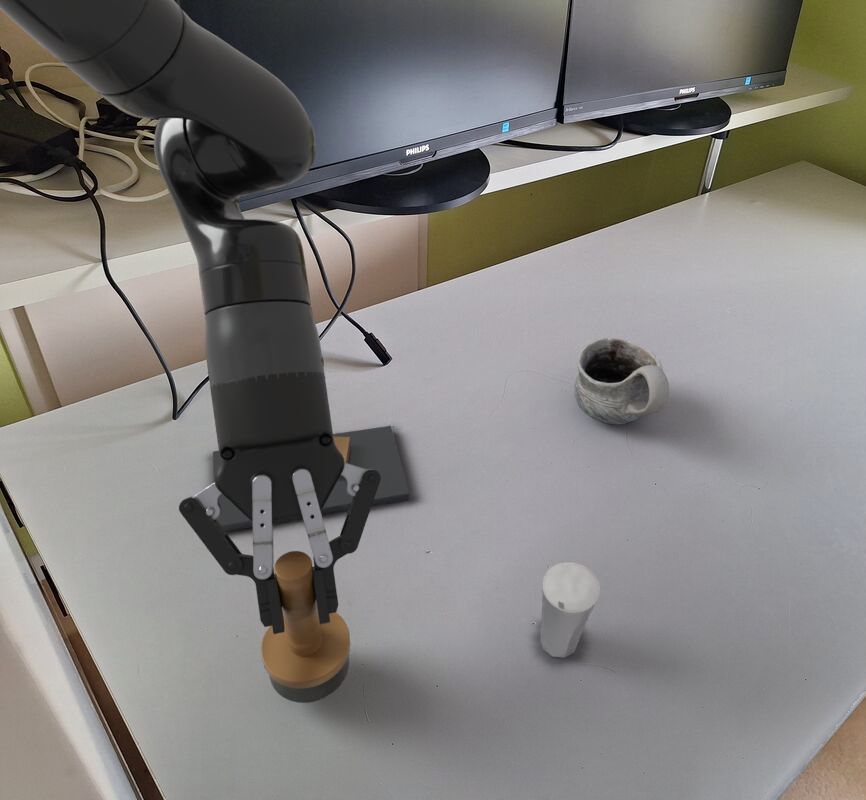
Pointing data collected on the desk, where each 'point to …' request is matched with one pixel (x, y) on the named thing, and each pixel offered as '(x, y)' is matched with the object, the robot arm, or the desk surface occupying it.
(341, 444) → the chip
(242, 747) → the desk surface
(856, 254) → the desk surface
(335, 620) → the brush
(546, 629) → the milkshake
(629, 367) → the mug
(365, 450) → the tile
